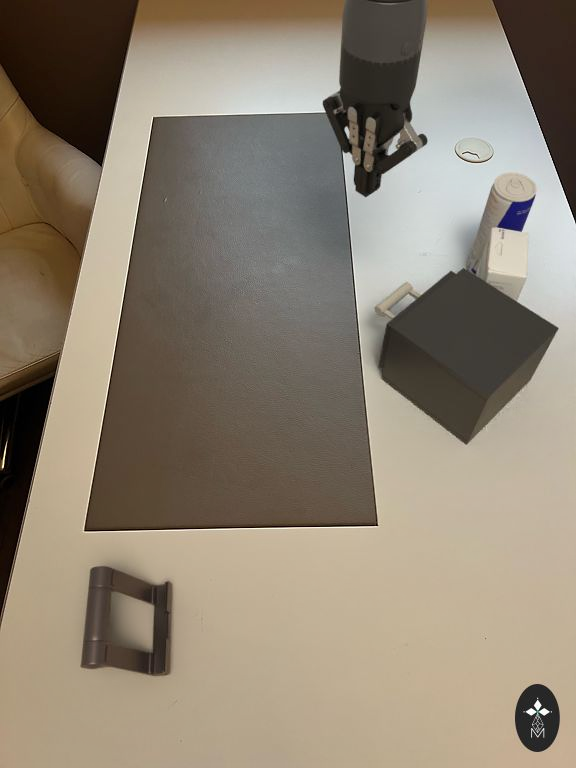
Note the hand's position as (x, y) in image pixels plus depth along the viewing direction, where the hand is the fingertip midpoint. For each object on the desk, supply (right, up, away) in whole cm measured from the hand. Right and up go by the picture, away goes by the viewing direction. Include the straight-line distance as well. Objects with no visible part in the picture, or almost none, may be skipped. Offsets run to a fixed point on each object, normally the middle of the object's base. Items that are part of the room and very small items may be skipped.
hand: (365, 191), depth 72 cm
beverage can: (+20, -6, +20) cm, 29 cm away
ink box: (+19, -13, +15) cm, 27 cm away
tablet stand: (-25, -48, -8) cm, 54 cm away
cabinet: (+13, -22, +9) cm, 27 cm away
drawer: (+10, -19, +10) cm, 24 cm away
